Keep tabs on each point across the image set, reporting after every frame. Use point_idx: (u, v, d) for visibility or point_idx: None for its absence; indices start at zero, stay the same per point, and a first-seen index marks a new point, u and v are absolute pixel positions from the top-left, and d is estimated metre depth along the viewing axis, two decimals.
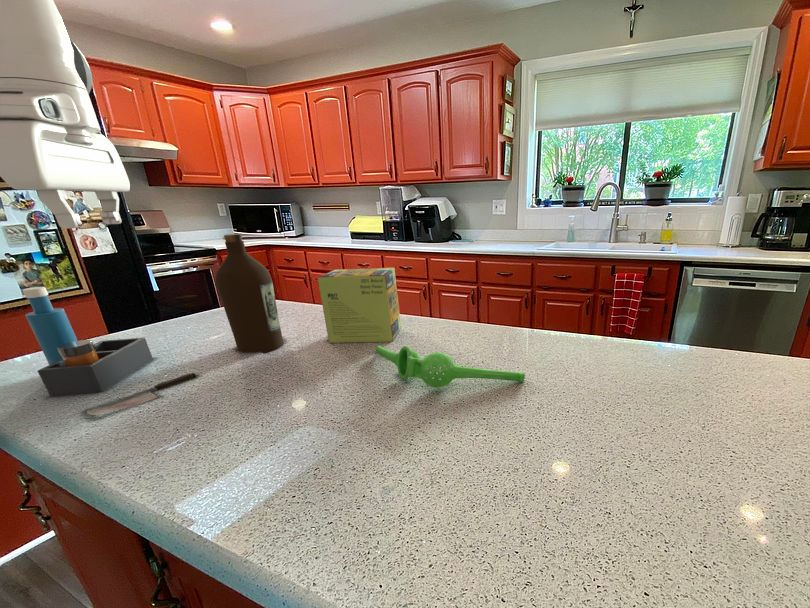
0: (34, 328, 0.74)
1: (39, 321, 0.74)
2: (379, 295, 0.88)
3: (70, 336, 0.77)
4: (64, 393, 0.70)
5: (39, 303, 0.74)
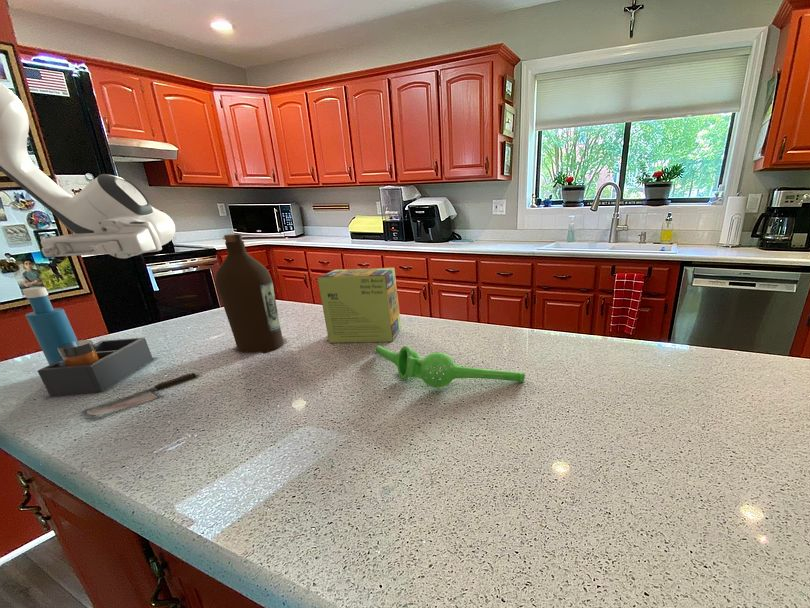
0: (34, 328, 0.74)
1: (39, 321, 0.74)
2: (379, 295, 0.88)
3: (70, 336, 0.77)
4: (64, 393, 0.70)
5: (39, 303, 0.74)
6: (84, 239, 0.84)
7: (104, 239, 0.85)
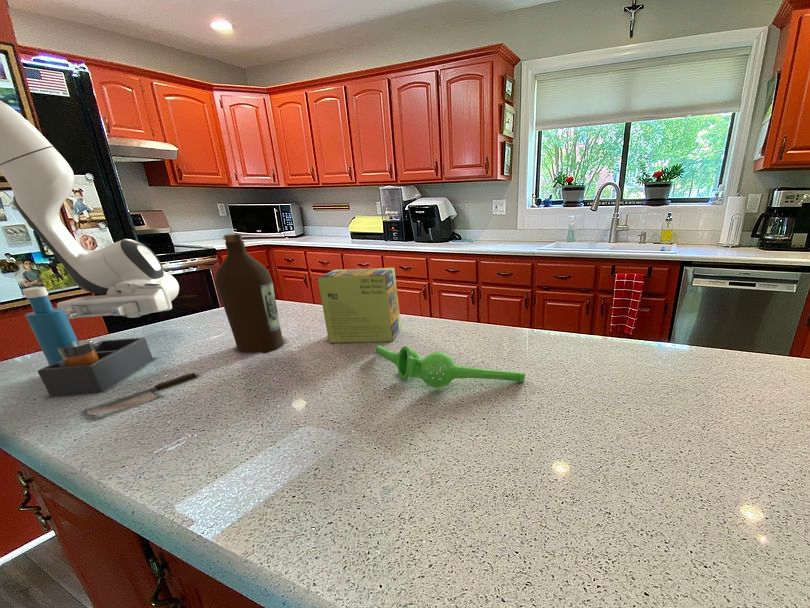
0: (34, 328, 0.74)
1: (39, 321, 0.74)
2: (379, 295, 0.88)
3: (70, 336, 0.77)
4: (64, 393, 0.70)
5: (39, 303, 0.74)
6: (102, 301, 0.90)
7: (123, 301, 0.91)
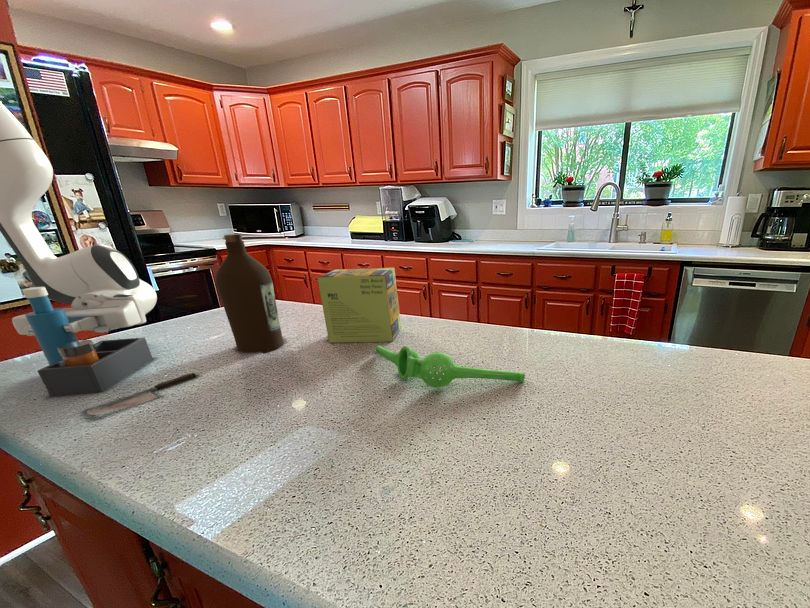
0: (34, 328, 0.74)
1: (39, 321, 0.74)
2: (379, 295, 0.88)
3: (70, 336, 0.77)
4: (64, 393, 0.70)
5: (39, 303, 0.74)
6: None
7: (87, 315, 0.80)
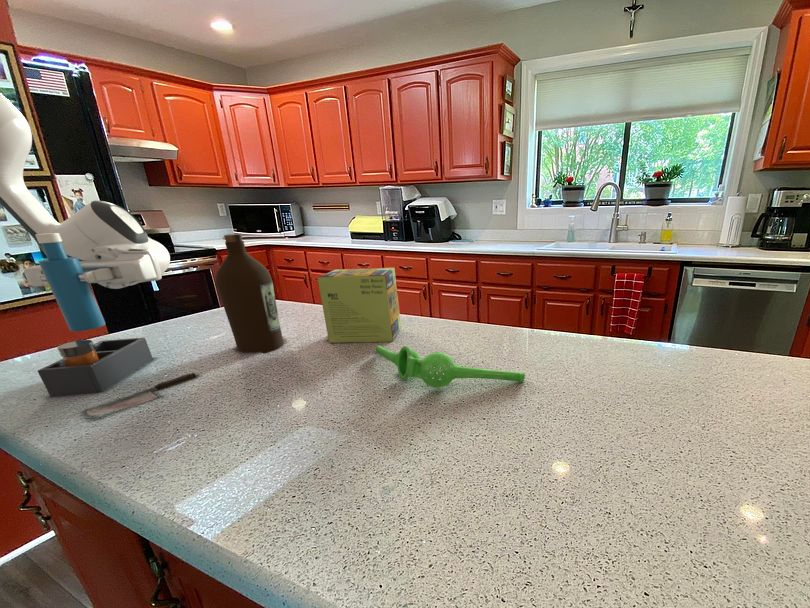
0: (48, 275, 0.71)
1: (53, 268, 0.70)
2: (379, 295, 0.88)
3: (84, 286, 0.74)
4: (64, 393, 0.70)
5: (52, 249, 0.70)
6: None
7: (102, 266, 0.77)
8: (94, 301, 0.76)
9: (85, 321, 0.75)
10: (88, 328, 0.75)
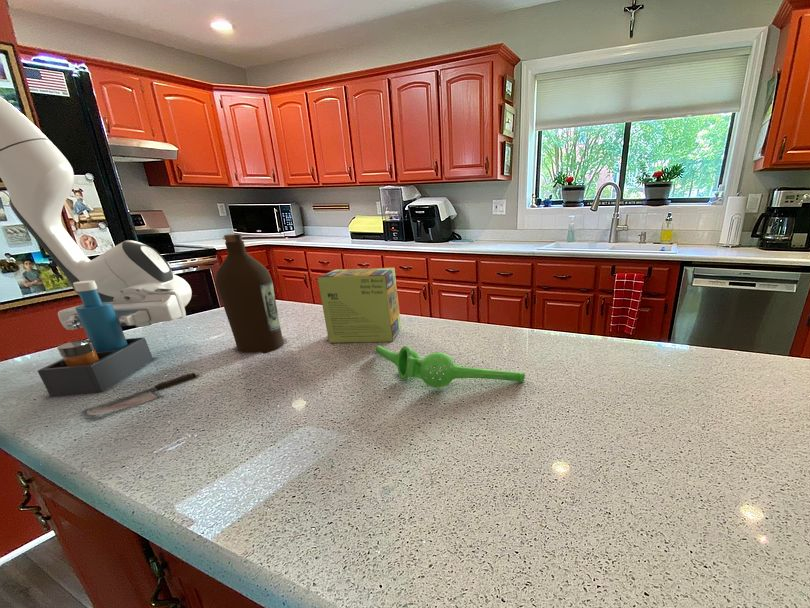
0: (84, 321, 0.74)
1: (89, 315, 0.74)
2: (379, 295, 0.88)
3: (117, 330, 0.78)
4: (64, 393, 0.70)
5: (89, 297, 0.74)
6: None
7: (132, 309, 0.80)
8: (125, 343, 0.80)
9: None
10: None
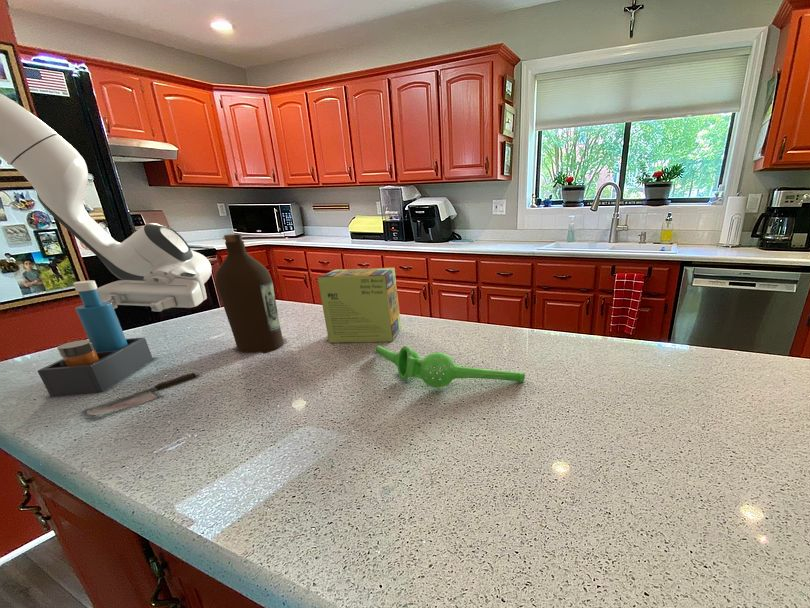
0: (84, 321, 0.74)
1: (89, 315, 0.74)
2: (379, 295, 0.88)
3: (117, 330, 0.78)
4: (64, 393, 0.70)
5: (89, 297, 0.74)
6: (141, 292, 0.90)
7: (161, 294, 0.91)
8: (125, 343, 0.80)
9: None
10: None
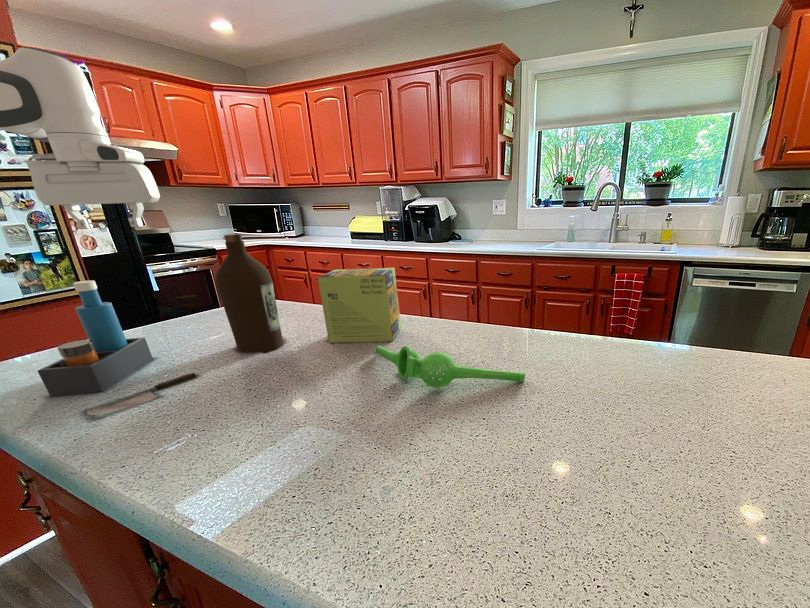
0: (84, 321, 0.74)
1: (89, 315, 0.74)
2: (379, 295, 0.88)
3: (117, 330, 0.78)
4: (64, 393, 0.70)
5: (89, 297, 0.74)
6: (96, 203, 0.79)
7: (120, 202, 0.80)
8: (125, 343, 0.80)
9: None
10: None
